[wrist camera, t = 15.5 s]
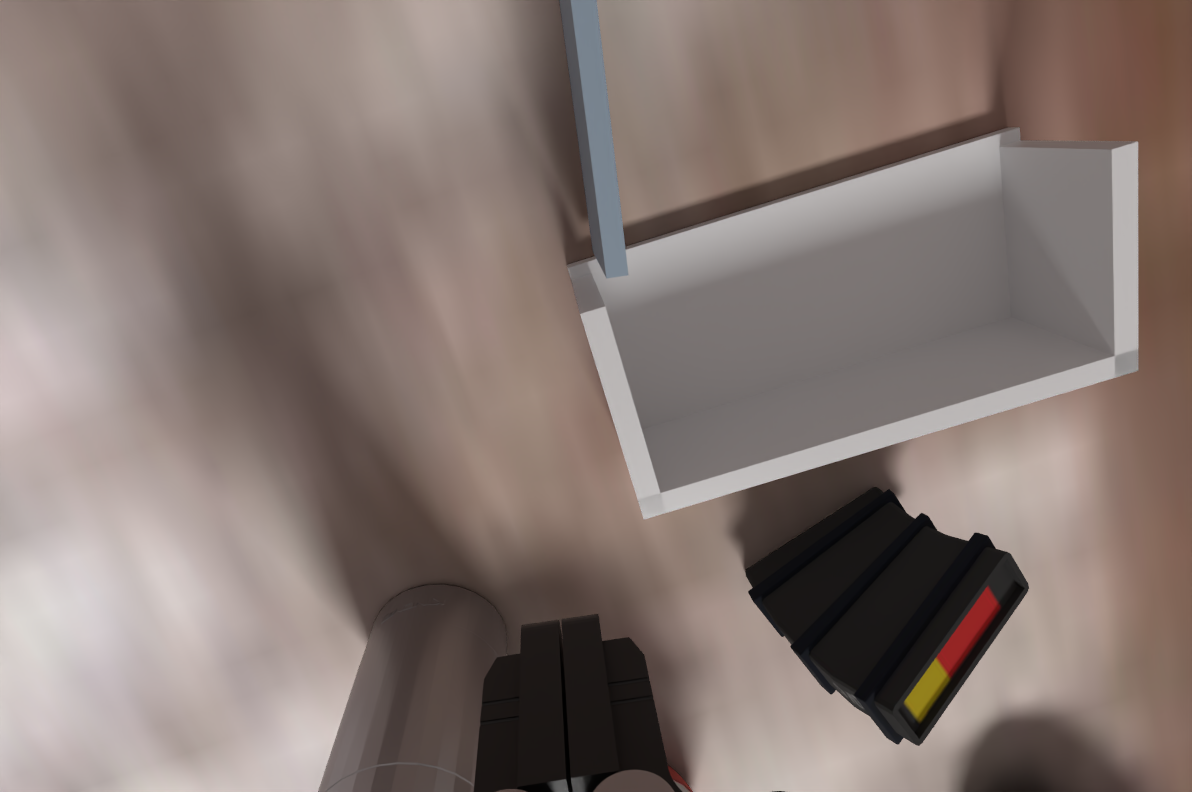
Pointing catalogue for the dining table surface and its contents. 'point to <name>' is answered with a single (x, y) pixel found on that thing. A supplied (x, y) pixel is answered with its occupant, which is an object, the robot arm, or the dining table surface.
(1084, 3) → the dining table surface
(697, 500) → the case
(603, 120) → the door
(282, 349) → the dining table surface
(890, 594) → the black ridged battery pack
